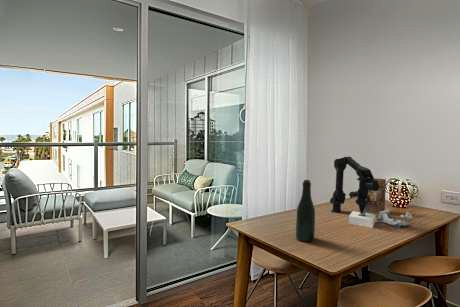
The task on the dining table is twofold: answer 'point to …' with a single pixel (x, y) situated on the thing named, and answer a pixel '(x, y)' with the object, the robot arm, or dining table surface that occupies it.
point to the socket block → (362, 219)
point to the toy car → (393, 219)
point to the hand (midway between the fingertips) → (362, 211)
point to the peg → (363, 213)
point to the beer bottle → (305, 215)
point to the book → (377, 198)
